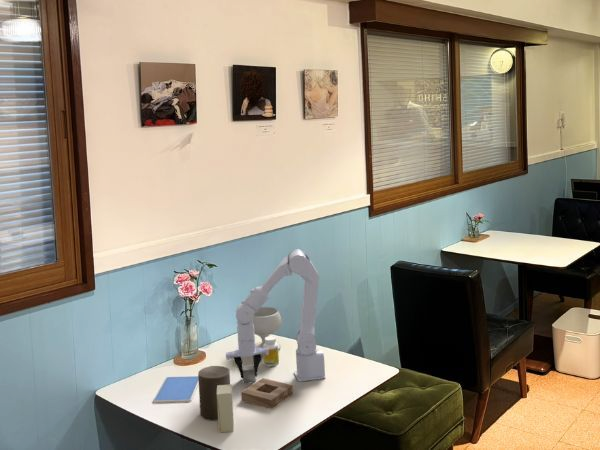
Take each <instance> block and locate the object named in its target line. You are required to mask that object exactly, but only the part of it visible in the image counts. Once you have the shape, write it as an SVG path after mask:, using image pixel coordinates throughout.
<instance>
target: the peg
mask: <svg viewBox="0 0 600 450" xmlns="http://www.w3.org/2000/svg"><path fill="white" fill-rule="evenodd" d="M242 371H243V378H241V380H242V383H243V384H250V383H256V382H257V381H256V377H255V368H254V364H250V365H249V364H247V365H242Z"/></svg>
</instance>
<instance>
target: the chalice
mask: <svg viewBox="0 0 600 450" xmlns="http://www.w3.org/2000/svg"><path fill="white" fill-rule="evenodd" d="M253 325H254V335H256V336H258V337H260V339H261V341H260V342H255V348H263V345H264V344H265V338H266V337H269V336H271V334H274V333H276V332H277V331H278V330H279V329H280V328H281V326H282V317H281V313H280V311H279V310H278V309H277V308H274V307H270V306H269V307H268V306H262V307H261V308H260V309H259V310H258V311H257V312H256V313H254V318H253ZM277 344H278V351H280V349H281V345H280V344H279V343H277Z"/></svg>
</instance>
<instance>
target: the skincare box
mask: <svg viewBox="0 0 600 450" xmlns="http://www.w3.org/2000/svg"><path fill="white" fill-rule="evenodd" d="M232 386H233V385H232V383H230V384H229V385H217V408H218V420H217V425H218V432H219V433H229V432H234V427H235V426H234V425H235V424H234V404H233V387H232Z"/></svg>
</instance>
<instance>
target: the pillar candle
mask: <svg viewBox="0 0 600 450" xmlns="http://www.w3.org/2000/svg"><path fill="white" fill-rule="evenodd" d="M230 371H231V370H230V368H228V367H227V366H221V365H209V366H205V367H203V368H201V369H200V370H198V373H197V374H198V375H197V376H198V380H199V384H198V395H199V396H198V397H199V409H200V410H199V411H200V417H201V418H202V419H204V420H208V421H218V408H217V385H229V384H231V375H230V373H231V372H230Z"/></svg>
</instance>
